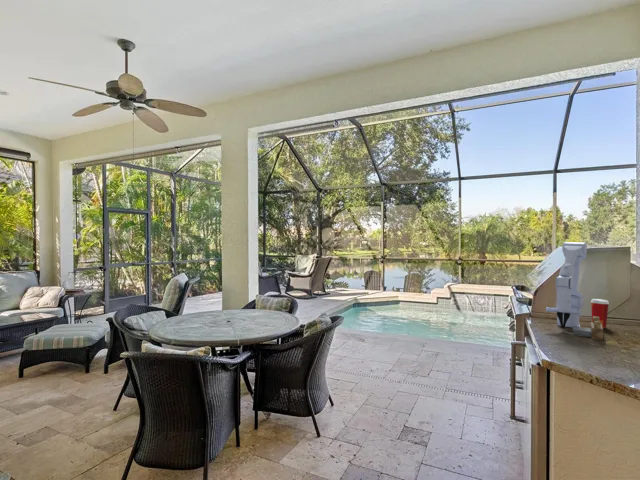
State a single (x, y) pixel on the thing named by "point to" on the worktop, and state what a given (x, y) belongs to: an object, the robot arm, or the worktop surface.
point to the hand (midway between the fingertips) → (562, 328)
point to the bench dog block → (596, 329)
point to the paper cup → (600, 310)
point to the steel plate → (582, 331)
